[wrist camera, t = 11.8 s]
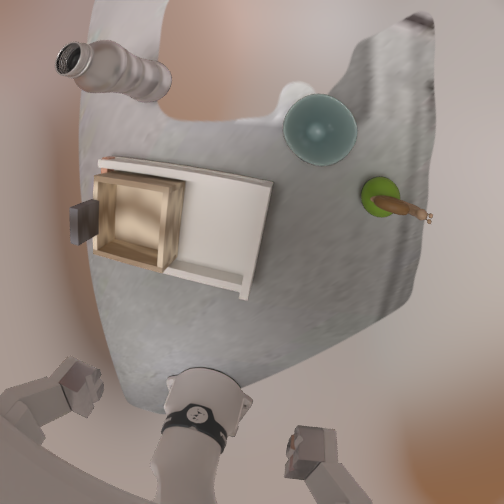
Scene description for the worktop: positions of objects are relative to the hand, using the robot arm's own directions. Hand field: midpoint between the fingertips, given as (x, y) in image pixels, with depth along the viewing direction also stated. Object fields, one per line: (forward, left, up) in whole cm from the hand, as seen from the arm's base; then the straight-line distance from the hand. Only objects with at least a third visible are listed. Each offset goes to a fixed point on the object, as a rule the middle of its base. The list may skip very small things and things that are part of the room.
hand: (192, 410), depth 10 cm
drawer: (-4, +18, -33) cm, 38 cm away
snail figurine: (+6, -15, -34) cm, 38 cm away
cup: (+12, -4, -34) cm, 37 cm away
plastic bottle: (+16, +20, -34) cm, 43 cm away
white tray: (-4, +13, -34) cm, 37 cm away
